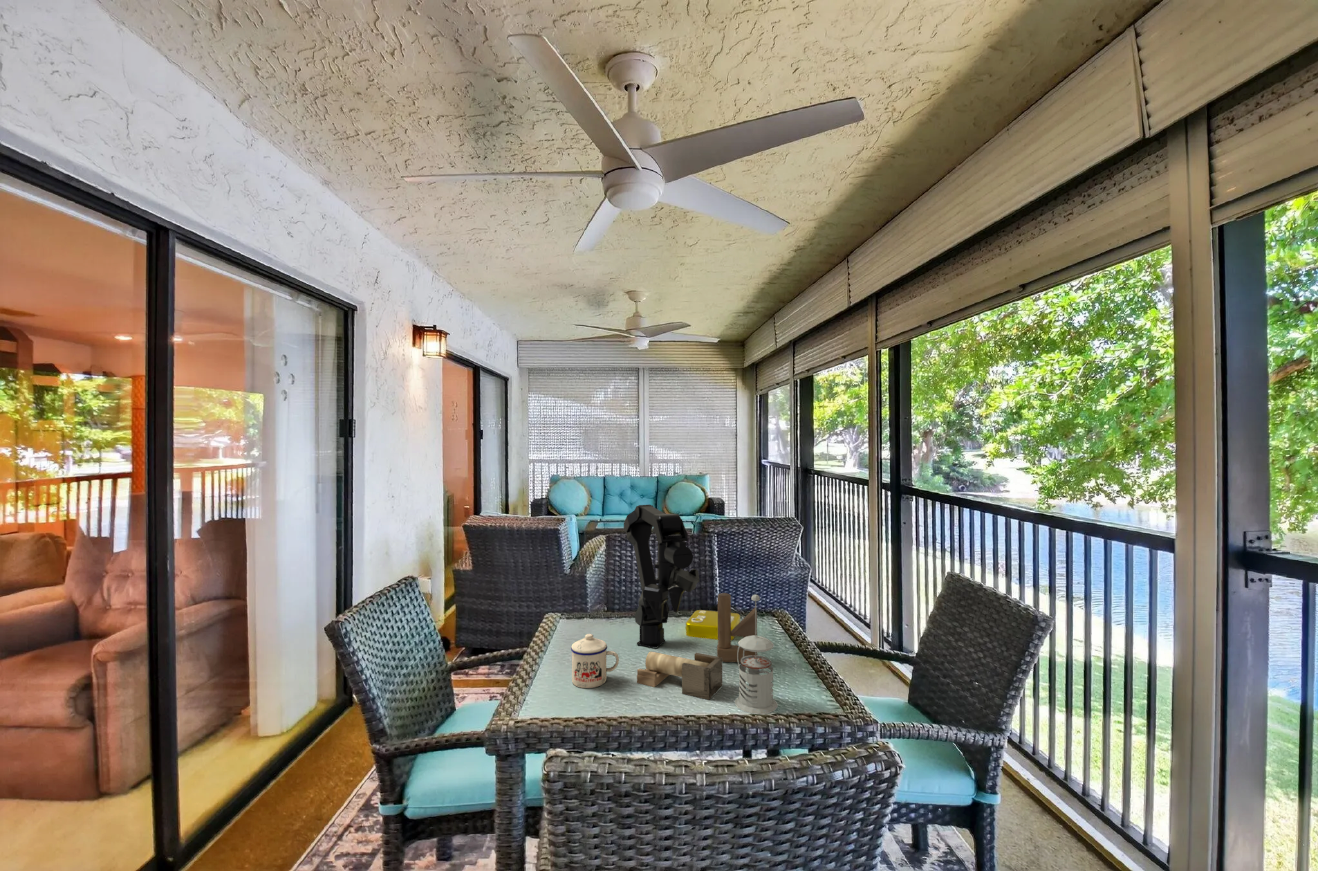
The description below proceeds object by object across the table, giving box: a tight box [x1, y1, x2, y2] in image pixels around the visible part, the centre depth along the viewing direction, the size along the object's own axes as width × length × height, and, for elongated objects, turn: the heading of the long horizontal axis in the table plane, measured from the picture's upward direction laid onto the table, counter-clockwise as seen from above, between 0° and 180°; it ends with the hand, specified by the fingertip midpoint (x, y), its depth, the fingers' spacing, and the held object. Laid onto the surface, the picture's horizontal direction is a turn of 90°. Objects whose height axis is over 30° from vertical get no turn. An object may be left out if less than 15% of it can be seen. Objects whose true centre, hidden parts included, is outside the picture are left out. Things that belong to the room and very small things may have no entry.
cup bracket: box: [681, 652, 724, 701], centre depth 136 cm, size 7×8×7 cm
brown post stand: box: [716, 592, 758, 663], centre depth 154 cm, size 4×11×18 cm, turn 86°
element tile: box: [685, 609, 741, 641], centre depth 178 cm, size 15×15×5 cm
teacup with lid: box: [570, 633, 620, 689], centre depth 142 cm, size 12×9×12 cm
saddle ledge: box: [636, 668, 670, 688], centre depth 143 cm, size 5×8×3 cm, turn 152°
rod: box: [645, 651, 709, 678], centre depth 140 cm, size 16×4×4 cm, turn 62°
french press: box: [734, 594, 779, 715], centre depth 130 cm, size 10×12×25 cm
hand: (667, 616), depth 155 cm, fingers open, 9 cm apart
